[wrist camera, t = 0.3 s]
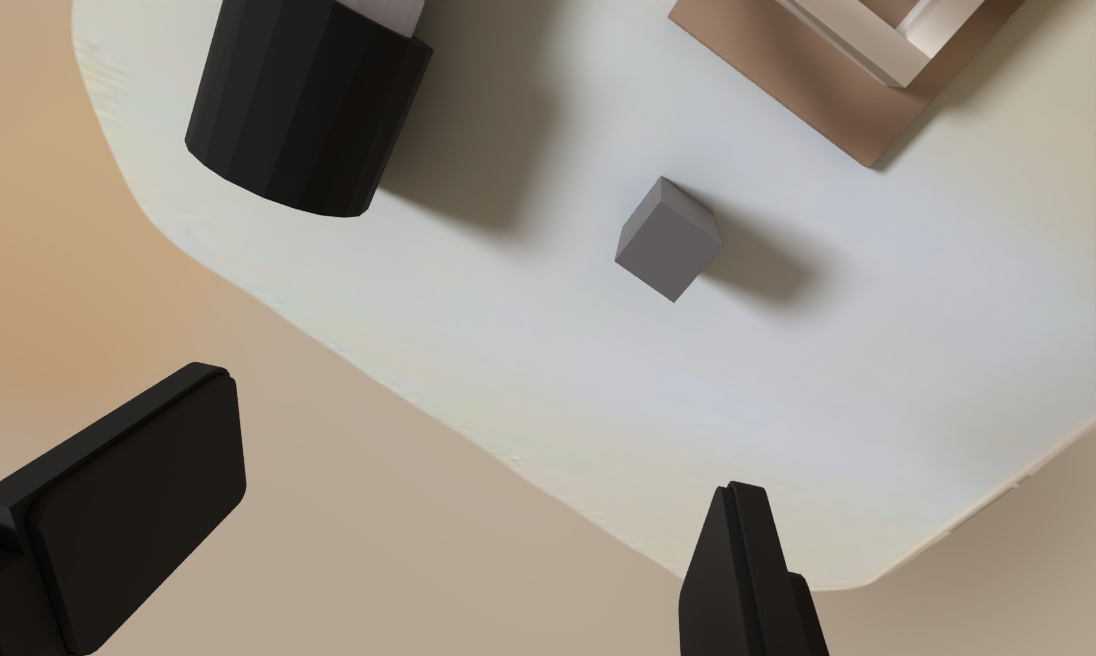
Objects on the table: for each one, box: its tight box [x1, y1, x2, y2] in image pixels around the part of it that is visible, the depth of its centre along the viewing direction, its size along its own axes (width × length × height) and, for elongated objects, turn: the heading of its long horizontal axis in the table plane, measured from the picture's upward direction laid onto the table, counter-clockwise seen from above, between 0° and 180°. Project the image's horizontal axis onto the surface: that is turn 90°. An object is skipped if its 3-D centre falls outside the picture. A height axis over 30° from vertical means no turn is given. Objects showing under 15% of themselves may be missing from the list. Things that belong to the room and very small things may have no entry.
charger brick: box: [615, 176, 723, 303], centre depth 33 cm, size 4×4×7 cm
